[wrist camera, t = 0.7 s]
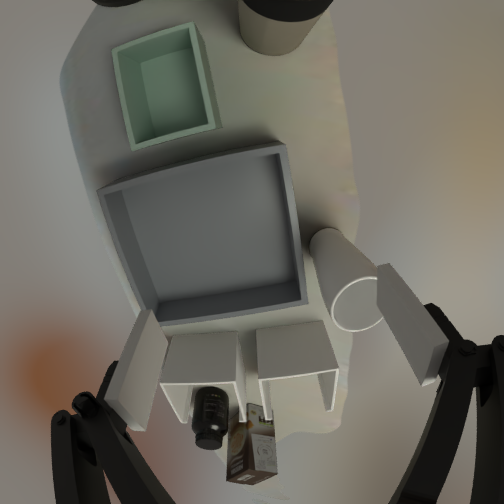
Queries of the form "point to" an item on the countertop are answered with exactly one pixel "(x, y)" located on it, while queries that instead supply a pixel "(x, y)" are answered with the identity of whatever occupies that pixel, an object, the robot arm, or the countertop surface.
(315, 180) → the countertop surface
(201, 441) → the supplement bottle
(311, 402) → the countertop surface
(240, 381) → the white cubby shelf
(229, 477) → the coffee box
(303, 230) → the countertop surface
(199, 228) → the big crate
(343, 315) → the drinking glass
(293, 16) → the travel mug
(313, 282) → the countertop surface
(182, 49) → the box
